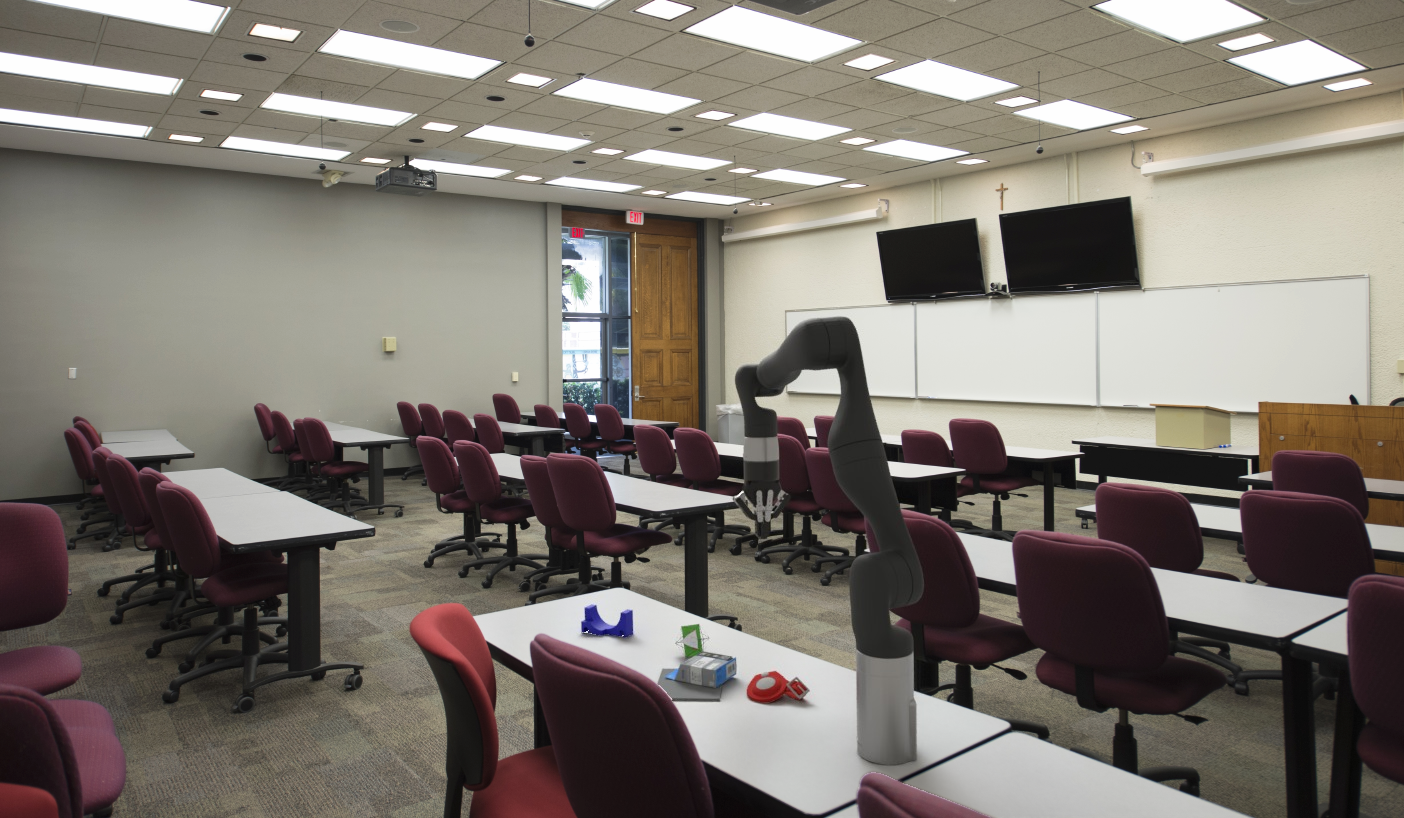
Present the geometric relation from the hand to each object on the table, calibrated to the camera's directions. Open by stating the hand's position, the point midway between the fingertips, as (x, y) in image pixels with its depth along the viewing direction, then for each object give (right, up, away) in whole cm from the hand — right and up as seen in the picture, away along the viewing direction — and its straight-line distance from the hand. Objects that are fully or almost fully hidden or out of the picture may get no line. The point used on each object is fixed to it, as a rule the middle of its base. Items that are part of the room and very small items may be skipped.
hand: (762, 538), depth 183 cm
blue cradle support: (-36, -27, +24) cm, 51 cm away
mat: (-15, -28, -10) cm, 33 cm away
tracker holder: (+1, -28, -17) cm, 33 cm away
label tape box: (-8, -26, -10) cm, 29 cm away
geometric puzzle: (-15, -27, +8) cm, 32 cm away
